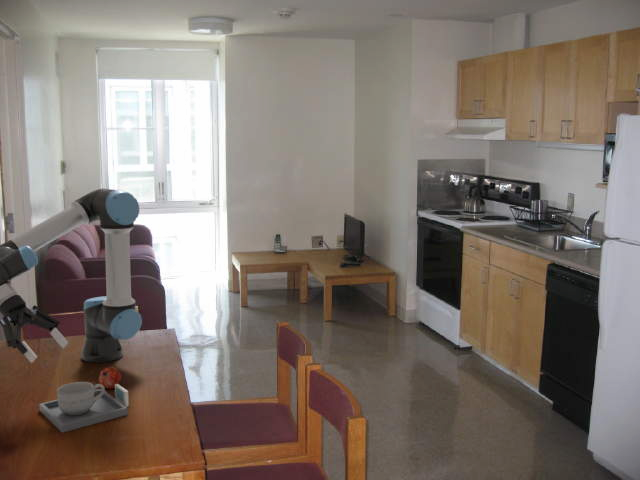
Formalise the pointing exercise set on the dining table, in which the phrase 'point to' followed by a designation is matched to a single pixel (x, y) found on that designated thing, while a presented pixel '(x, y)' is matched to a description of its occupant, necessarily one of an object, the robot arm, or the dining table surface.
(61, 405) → the teacup
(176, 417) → the dining table surface
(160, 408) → the dining table surface
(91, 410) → the tray
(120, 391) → the tag
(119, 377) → the pomegranate
